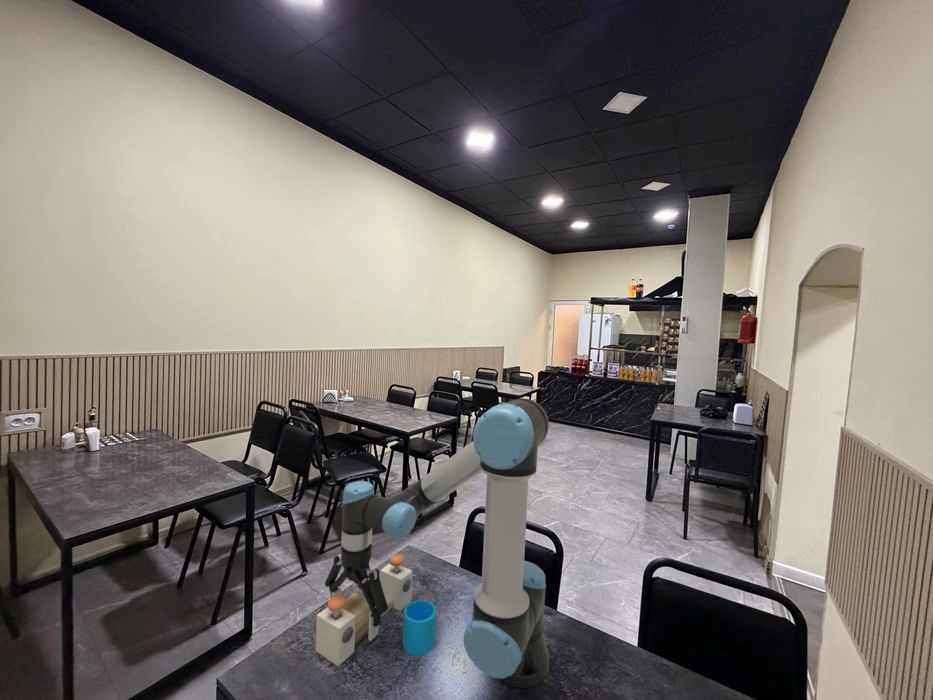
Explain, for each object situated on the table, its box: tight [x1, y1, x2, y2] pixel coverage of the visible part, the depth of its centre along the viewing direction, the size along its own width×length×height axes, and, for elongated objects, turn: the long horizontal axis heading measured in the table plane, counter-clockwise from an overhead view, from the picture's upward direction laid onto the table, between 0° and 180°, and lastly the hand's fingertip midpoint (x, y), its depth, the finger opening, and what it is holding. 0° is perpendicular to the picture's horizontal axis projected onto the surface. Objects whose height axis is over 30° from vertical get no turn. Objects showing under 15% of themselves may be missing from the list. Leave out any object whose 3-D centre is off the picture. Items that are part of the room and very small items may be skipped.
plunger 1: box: [327, 595, 346, 620], centre depth 94 cm, size 4×4×5 cm
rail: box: [375, 597, 393, 618], centre depth 103 cm, size 2×17×2 cm, turn 149°
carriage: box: [342, 592, 371, 645], centre depth 99 cm, size 7×6×8 cm
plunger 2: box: [389, 554, 405, 574], centre depth 112 cm, size 4×4×5 cm
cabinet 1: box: [315, 606, 356, 667], centre depth 94 cm, size 8×5×9 cm, turn 59°
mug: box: [402, 599, 437, 656], centre depth 100 cm, size 12×8×8 cm
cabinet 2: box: [379, 563, 413, 612], centre depth 113 cm, size 8×5×9 cm, turn 59°
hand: (354, 625), depth 99 cm, fingers open, 13 cm apart
